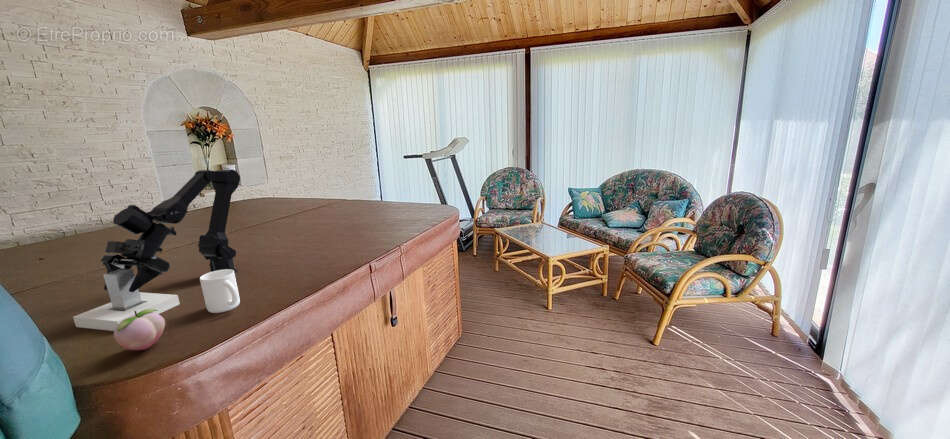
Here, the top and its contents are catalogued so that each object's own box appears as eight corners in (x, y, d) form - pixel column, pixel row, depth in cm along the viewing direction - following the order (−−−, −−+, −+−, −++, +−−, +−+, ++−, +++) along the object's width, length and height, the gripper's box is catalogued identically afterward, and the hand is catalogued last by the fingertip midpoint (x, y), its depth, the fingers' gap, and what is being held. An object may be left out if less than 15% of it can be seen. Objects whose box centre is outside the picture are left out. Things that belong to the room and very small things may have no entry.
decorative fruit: (142, 339, 92) (132, 303, 90) (176, 337, 93) (167, 301, 91) (108, 362, 83) (96, 322, 81) (146, 359, 84) (134, 319, 81)
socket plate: (139, 300, 116) (137, 292, 115) (179, 304, 112) (177, 295, 111) (76, 326, 101) (72, 316, 100) (120, 331, 97) (117, 321, 96)
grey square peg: (132, 310, 109) (121, 268, 106) (144, 310, 108) (132, 269, 105) (115, 317, 105) (103, 274, 102) (127, 318, 104) (115, 275, 101)
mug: (253, 306, 108) (246, 273, 106) (223, 319, 102) (215, 284, 99) (231, 298, 114) (224, 267, 112) (201, 310, 108) (193, 277, 105)
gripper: (99, 227, 107) (62, 278, 99) (149, 228, 102) (114, 281, 94) (136, 245, 116) (104, 292, 108) (183, 247, 112) (154, 296, 104)
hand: (118, 290), depth 103 cm, fingers open, 9 cm apart
